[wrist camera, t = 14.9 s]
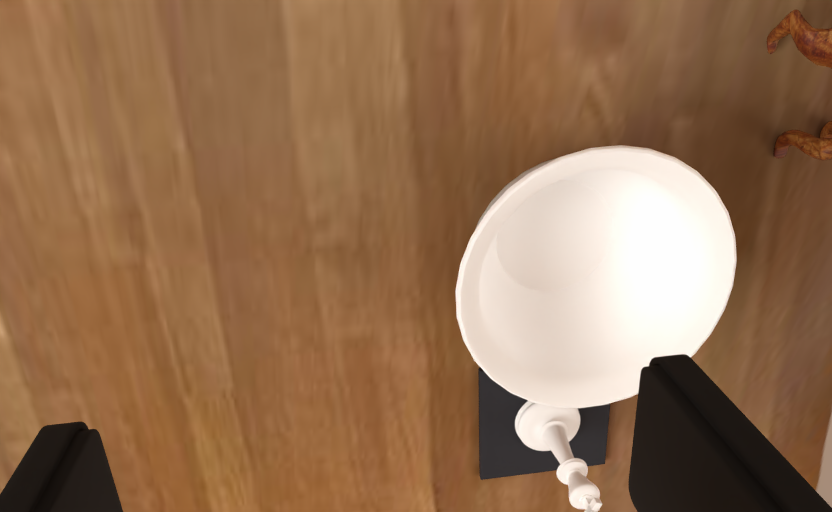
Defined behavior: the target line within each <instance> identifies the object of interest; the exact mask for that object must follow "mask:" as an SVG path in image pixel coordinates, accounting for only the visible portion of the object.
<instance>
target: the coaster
mask: <svg viewBox="0 0 832 512" xmlns="http://www.w3.org/2000/svg"><path fill="white" fill-rule="evenodd" d="M527 401H528V400H526V399H523V398H521V397H519V396H517V395H514V394H512V393H510V392H508V391H507V390H506V389H504V388H503V387H501V386H500V385H499V384H497V383H496V382H494V381H493V380H492V379H491V378H490V377H489V376H488V375H487V374H486V373H485V372H484V371H483V369H482V368H479V456H480V478H481V480H483V479H491V478H498V477H506V476H514V475H522V474H530V473H538V472H545V471H553V470H557V469H558V467H559V465H560V463H559V461H558V460H557V458H556V457H555V455H554V454H553V453H552V451H551V450H550V451H538V450H534V449H531V448H529V447H528V446H526V445H525V444H524V443H523V442H522V441H521V439H520V438H519V436H518V435H517V433H516V430H515V419H516V416H517V413H518V412H519V410H520V408H521V407H522V406H523V405H524V404H525V403H526V402H527ZM578 411H579V414H580V426H579V429H578V431H577V433H576V435H575V436H574V437H573V439H572V440H571V441H569V445H570V448H571V451H572V454H573V456H574V458H579V459H582V460H583V461H585V463H586V464H587V466H593V465H600V464H605V456H606V445H607V433H608V422H609V411H610V403H609V404H606V405H600V406H593V407H585V408H578Z"/></svg>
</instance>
